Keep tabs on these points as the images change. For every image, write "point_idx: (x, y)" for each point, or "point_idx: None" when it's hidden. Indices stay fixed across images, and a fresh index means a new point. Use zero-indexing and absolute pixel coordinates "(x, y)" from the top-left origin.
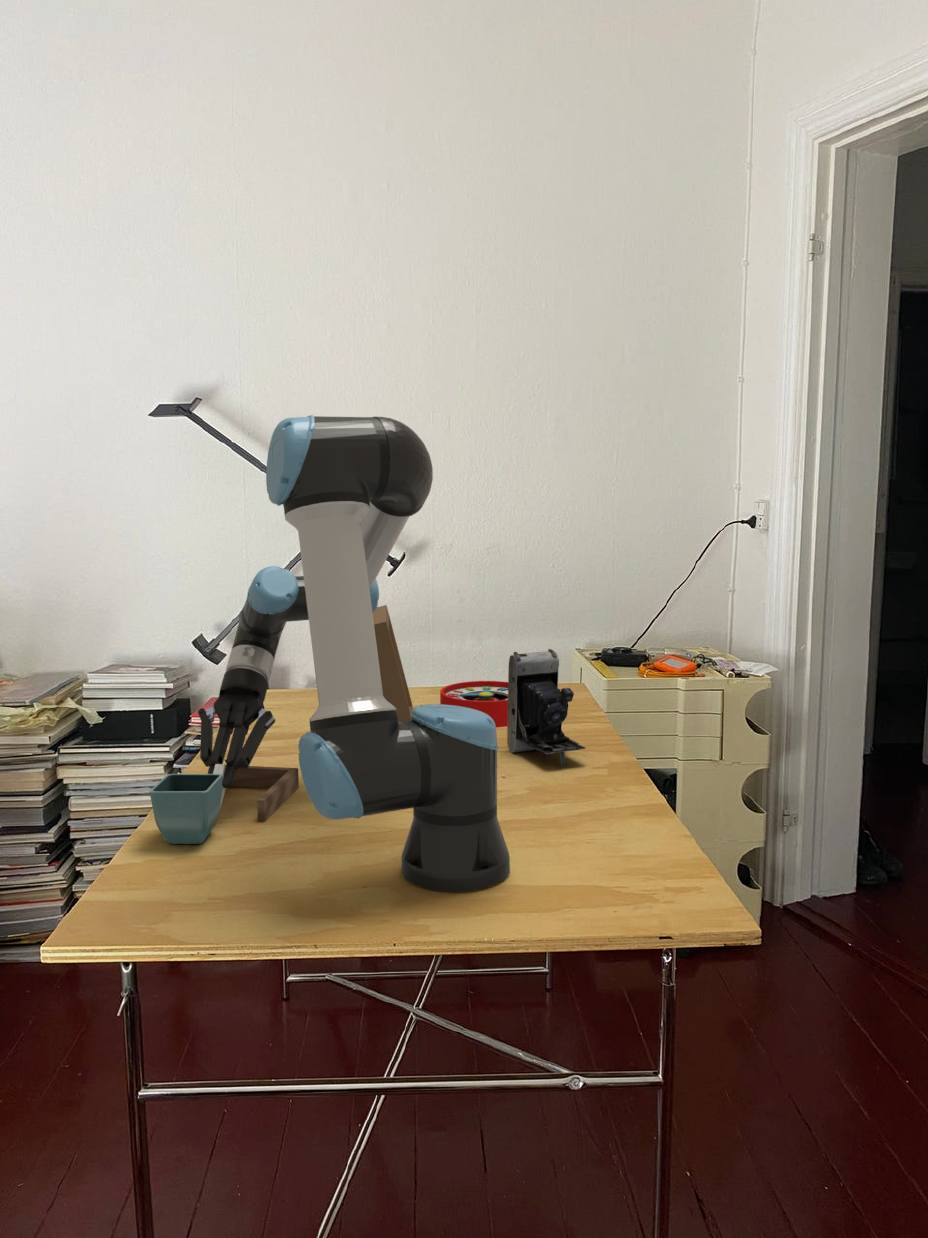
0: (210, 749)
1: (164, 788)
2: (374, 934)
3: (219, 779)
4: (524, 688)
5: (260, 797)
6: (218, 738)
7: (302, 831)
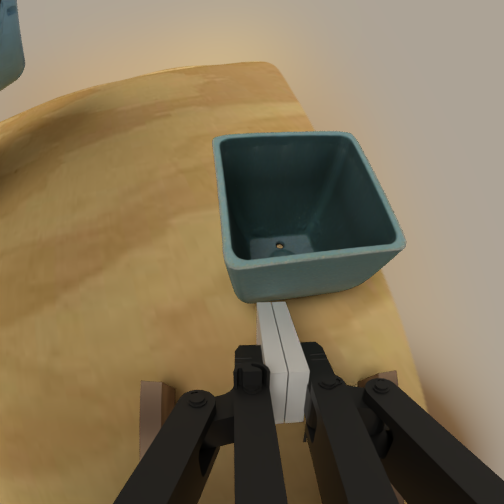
0: (388, 454)
1: (371, 211)
2: (33, 113)
3: (221, 229)
4: None
5: (158, 404)
6: (369, 468)
7: (70, 335)
